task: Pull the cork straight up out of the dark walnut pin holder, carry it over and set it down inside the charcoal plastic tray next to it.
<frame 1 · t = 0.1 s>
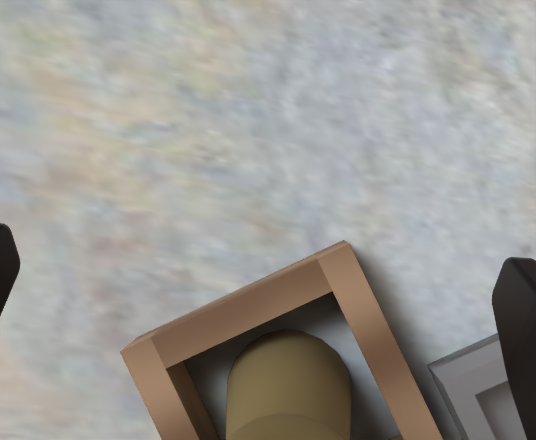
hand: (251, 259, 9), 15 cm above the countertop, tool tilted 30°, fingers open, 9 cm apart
pin holder: (288, 392, 24), on the countertop
cork: (288, 391, 25), on the countertop
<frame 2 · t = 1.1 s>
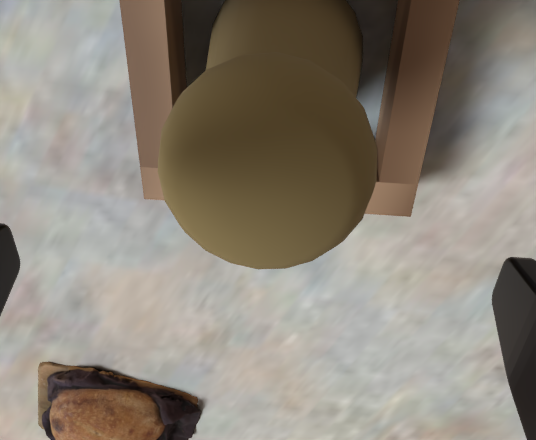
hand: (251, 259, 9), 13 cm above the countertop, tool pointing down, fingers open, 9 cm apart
pin holder: (285, 55, 20), on the countertop
cork: (285, 53, 20), on the countertop
bread roll: (119, 402, 34), on the countertop
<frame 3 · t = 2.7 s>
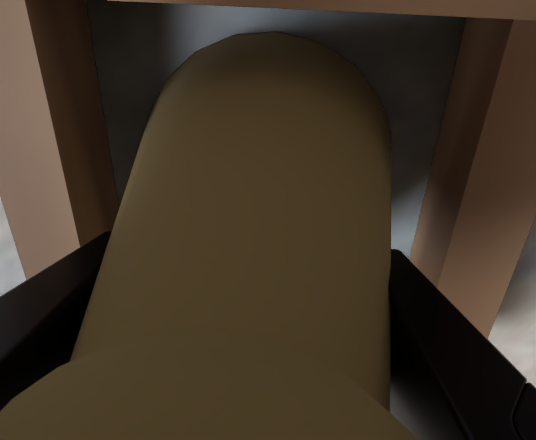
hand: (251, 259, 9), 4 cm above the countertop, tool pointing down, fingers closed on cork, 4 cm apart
pin holder: (267, 157, 13), on the countertop
cork: (268, 154, 13), on the countertop, touching gripper
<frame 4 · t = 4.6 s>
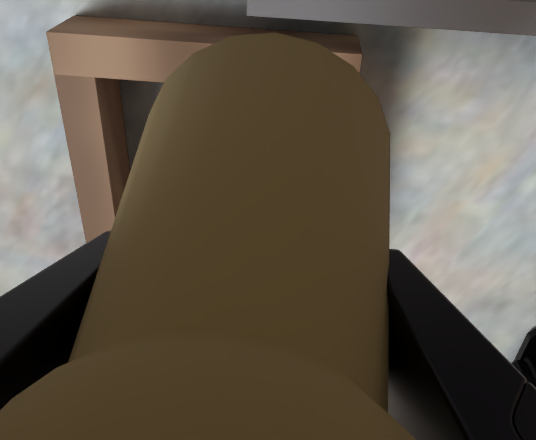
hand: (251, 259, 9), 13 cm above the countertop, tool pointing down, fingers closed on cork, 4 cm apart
pin holder: (215, 153, 23), on the countertop
cork: (267, 154, 13), point 9 cm above the countertop, touching gripper
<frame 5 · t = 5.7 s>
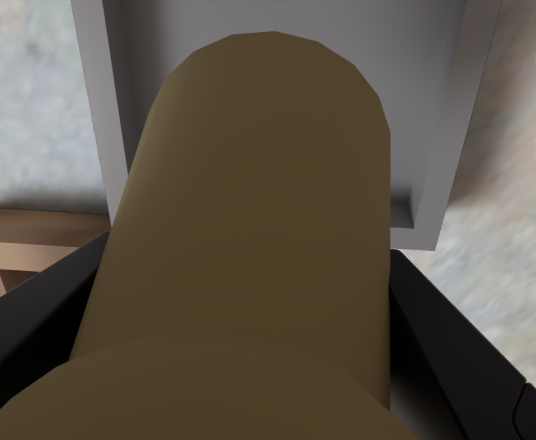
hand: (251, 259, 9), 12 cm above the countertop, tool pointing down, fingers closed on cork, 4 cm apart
pin holder: (117, 302, 26), on the countertop
tray: (281, 59, 19), on the countertop
cork: (267, 153, 13), point 7 cm above the countertop, touching gripper
when the fingers open (6 cm above the countertop, at t = 6.9 s): cork drops 2 cm, resting on tray.
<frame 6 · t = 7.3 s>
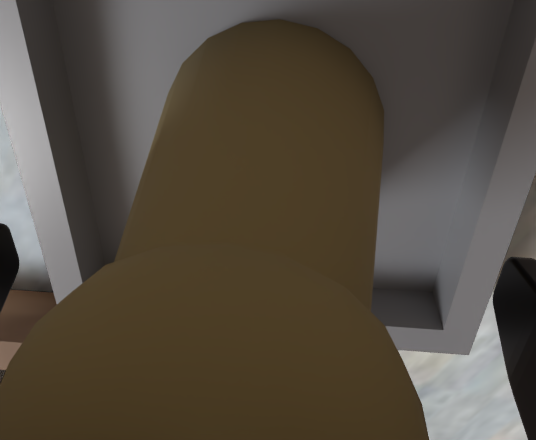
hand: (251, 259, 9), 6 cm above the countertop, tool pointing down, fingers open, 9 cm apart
pin holder: (82, 386, 22), on the countertop
tray: (273, 117, 15), on the countertop
cork: (273, 131, 14), point 1 cm above the countertop, touching tray
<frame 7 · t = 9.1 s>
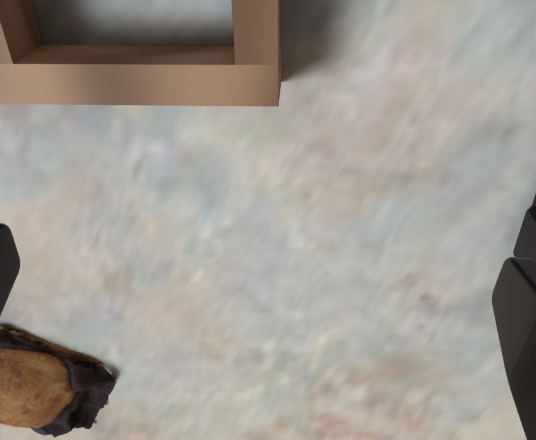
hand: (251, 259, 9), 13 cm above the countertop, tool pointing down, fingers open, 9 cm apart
bread roll: (30, 366, 33), on the countertop
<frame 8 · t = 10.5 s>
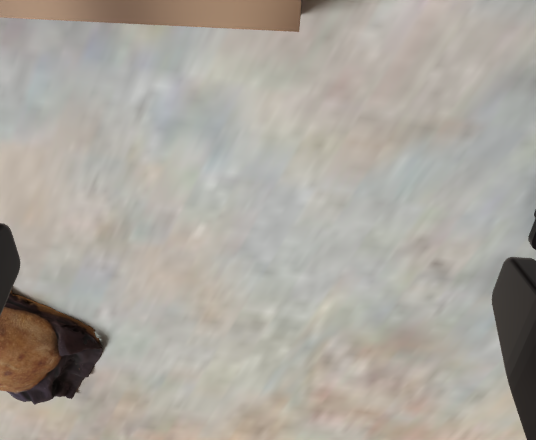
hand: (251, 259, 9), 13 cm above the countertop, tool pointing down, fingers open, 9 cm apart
bread roll: (14, 328, 31), on the countertop
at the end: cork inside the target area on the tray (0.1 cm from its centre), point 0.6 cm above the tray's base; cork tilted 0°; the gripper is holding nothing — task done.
